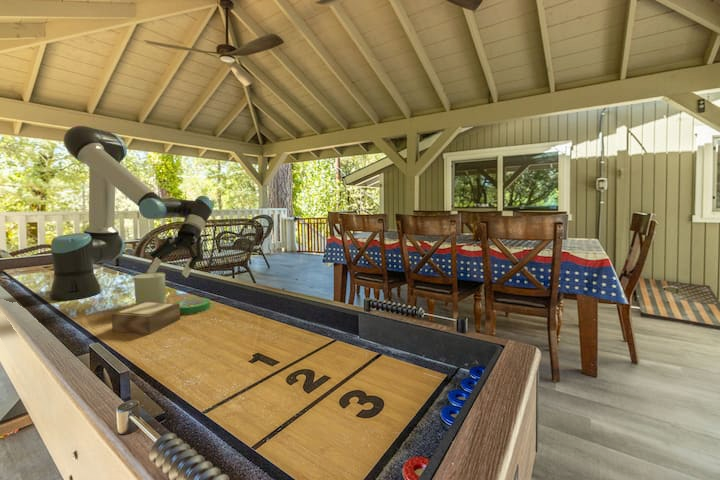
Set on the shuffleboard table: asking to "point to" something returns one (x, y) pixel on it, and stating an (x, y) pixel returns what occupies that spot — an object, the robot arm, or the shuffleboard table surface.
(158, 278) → the can
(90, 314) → the shuffleboard table surface
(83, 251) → the robot arm
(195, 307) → the tape roll
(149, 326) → the plinth
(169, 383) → the shuffleboard table surface
